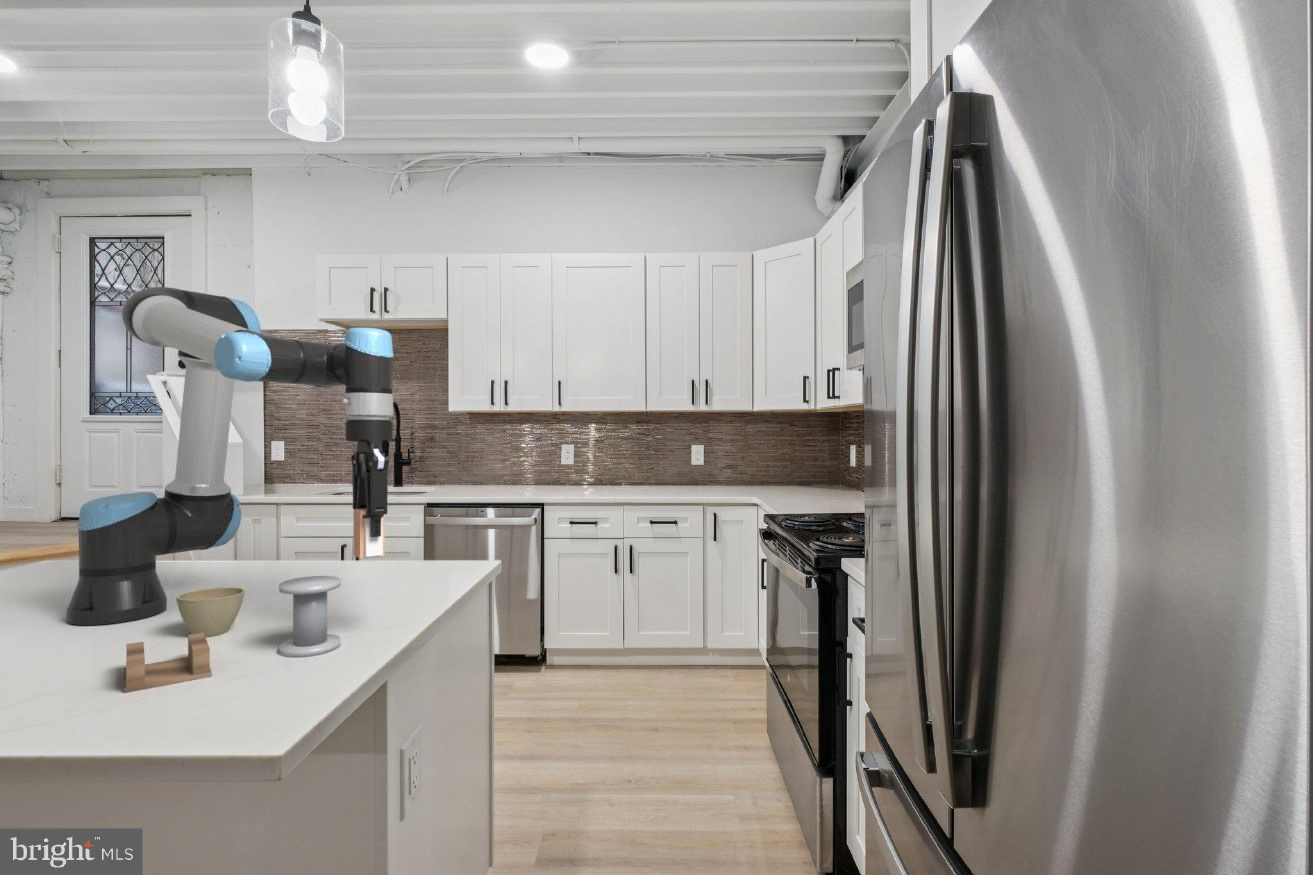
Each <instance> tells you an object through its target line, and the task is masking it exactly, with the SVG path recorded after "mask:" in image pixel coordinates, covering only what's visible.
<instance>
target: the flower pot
mask: <svg viewBox="0 0 1313 875" xmlns="http://www.w3.org/2000/svg"><path fill="white" fill-rule="evenodd" d="M244 596H245V589H244V588H243V587H236V586H235V587H234V586H226V587H224V586H223V587H208V588H201V589H194V590H190V591H186V592H183V593H180V594H177V595H176V604H177V607H178V611H179V613H180V616H181V618H182V621H183V622H184V625H185V626H186V628H187V629H188V631H189V632H190V634H196V633H202V632H204V635H205V637H206V638H207V637H208V638H210V637H217V636H220V635H223V634H225V633H227V632H229V630H230V628H231V627H232V625H233V624H234V622H235V620H236V618H237V616H238V614H239V612H240V611H241V607H242V604H243V601H244V600H243V599H244Z"/></svg>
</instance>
